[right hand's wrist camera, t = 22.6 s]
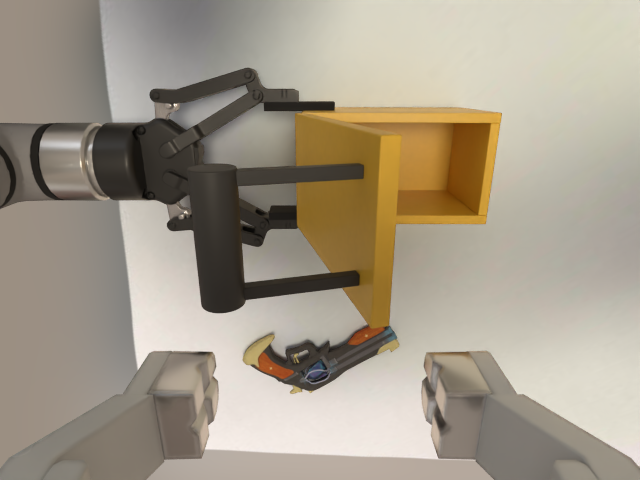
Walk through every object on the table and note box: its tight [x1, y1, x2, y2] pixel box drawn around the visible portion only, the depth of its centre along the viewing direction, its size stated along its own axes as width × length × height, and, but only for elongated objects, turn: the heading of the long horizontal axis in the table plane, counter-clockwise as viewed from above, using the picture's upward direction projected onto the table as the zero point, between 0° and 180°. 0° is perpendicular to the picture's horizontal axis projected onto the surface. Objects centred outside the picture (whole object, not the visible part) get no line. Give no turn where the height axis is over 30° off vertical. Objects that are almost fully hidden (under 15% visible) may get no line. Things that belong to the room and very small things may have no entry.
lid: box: [187, 113, 402, 329], centre depth 27 cm, size 18×10×9 cm
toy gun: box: [243, 326, 399, 394], centre depth 54 cm, size 3×19×10 cm
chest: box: [302, 107, 502, 224], centre depth 42 cm, size 17×10×11 cm, turn 90°
